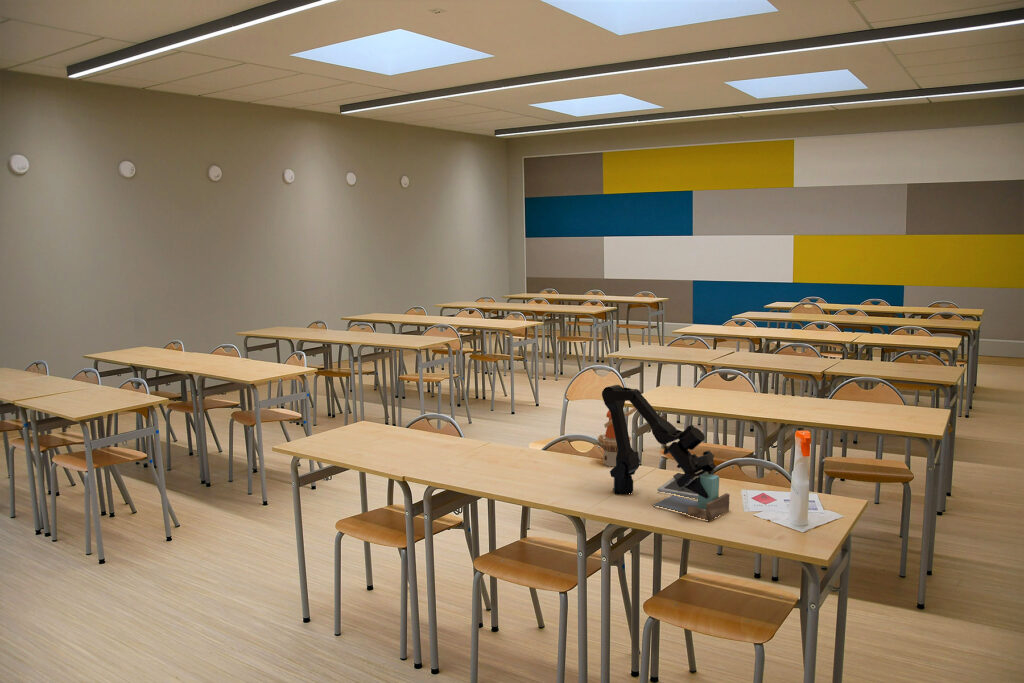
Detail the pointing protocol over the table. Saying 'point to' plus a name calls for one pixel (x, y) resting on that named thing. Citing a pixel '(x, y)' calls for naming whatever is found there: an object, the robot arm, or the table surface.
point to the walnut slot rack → (711, 508)
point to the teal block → (708, 489)
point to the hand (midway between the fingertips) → (712, 495)
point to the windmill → (610, 441)
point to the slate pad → (677, 503)
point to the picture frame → (677, 488)
